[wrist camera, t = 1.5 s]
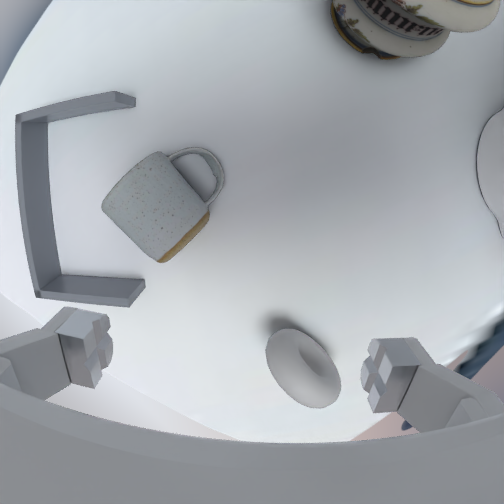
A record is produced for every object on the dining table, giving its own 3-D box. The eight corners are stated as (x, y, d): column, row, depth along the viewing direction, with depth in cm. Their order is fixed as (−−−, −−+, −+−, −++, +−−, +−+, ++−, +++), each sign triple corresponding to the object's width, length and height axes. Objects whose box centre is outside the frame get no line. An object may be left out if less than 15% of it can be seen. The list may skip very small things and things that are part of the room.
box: (135, 98, 29) (114, 91, 24) (145, 287, 35) (129, 307, 30) (41, 116, 29) (15, 114, 24) (57, 281, 36) (35, 297, 31)
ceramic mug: (172, 254, 34) (149, 281, 26) (120, 200, 32) (86, 213, 25) (244, 186, 32) (239, 196, 24) (189, 128, 30) (168, 120, 22)
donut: (259, 327, 36) (256, 384, 27) (279, 307, 35) (284, 362, 26) (318, 370, 38) (330, 428, 28) (338, 353, 37) (356, 410, 28)
